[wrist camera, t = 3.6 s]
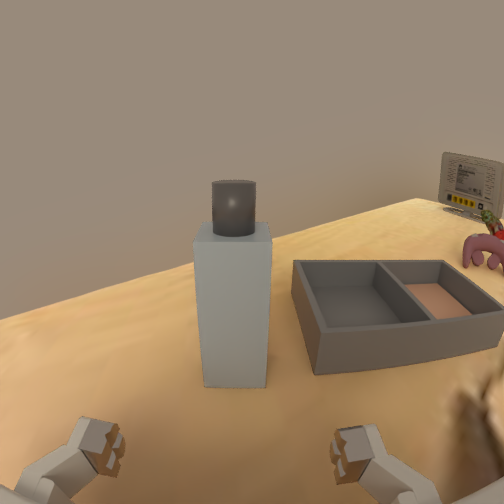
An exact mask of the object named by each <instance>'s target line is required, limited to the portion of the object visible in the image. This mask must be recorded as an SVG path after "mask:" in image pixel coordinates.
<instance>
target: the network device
mask: <svg viewBox="0 0 504 504" xmlns="http://www.w3.org/2000/svg"><path fill="white" fill-rule="evenodd" d="M438 200H439V202H440V203H442V204H446V205H449V206H452V207H455V208H459V209H462V210H464V211H462V210H459V209H455V208H443V210H444V211H446V212H449V213H452V214H455V215H458V216H461V217H464V218H467V219H470V220H473V221H476V222H479V223H483V224H485V222H483V221H480V220H477V219H475V218H472V217H476V218H479V219H481V218H482V217H480V216H481V211H482V210H486V209H488V210H490V211H491V212H492V213H493V215H494V216H496V217H497V218H499V219H500V218H501V217H502V211H503V204H504V163H501V162H497V161H493V160H488V159H483V158H478V157H473V156H467V155H461V154H456V153H450V152H444V153H443V154H442V163H441V174H440V186H439V194H438ZM451 210H455V211H458V212H461V213H457V212H454V211H451ZM473 213H474V214H477V215H480V216H477V215H474V214H473Z"/></svg>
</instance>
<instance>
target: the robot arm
mask: <svg viewBox="0 0 504 504" xmlns="http://www.w3.org/2000/svg"><path fill="white" fill-rule="evenodd" d="M119 430H120V428H119V426H118V424H116V423H111V422H106V421H101V420H97V419H93V418H88V417H84V416H82V417H81V418H79V420H78V422H77V424H76V426H75V428H74V430H73V432H72V434H71V436H70V439H69V441H68V443H67V445H62V446H60V447H59V448H57V449H56V450H54V451H52V452H51V453H49V454H47V455H46V456H44V457H43V458H41V459H39V460H38V461H36V462H34V463H33V464H31V465H29V466H28V467H26V468H24V470H23V472H22V475H21V477H20V479H19V481H18V483H17V485H16V487H15V489H14V491H13V490H11V489H9V488H7V487H6V486H4V485H2V484H0V504H75V503H74V502H73V501H71V500H70V499H71V498H72V497H73V496H74V495H75V494H76V493H78V492H79V491H80V490H81V489H82V488H83V487H85V486H86V485H87V484H88V483H89V482H90V481H91V480H93V479H94V478H95V477H96V476H97V475H98V474H101V475H106V476H110V477H115V478H117V476H118V472H119V469H120V466H121V465H120V463H119V459H121V458H122V457H123V456H124V452H125V440H124V437H123V435H121V434H120V433H119ZM334 437H335V439H334V440H333V441H332V442H331V445H330V458H331V462H332V463H333V464H334V465H335V466H336V467H335V469H334V475H335V479H336V483H337V485H339V484H346V483H353V482H358V483H359V484H360V485H361V486H362V487H363V488H364V489H365V490H366V491H367V492H368V493H369V494H370V495H371V496H372V497H374V498H375V499H376V500H377V501H378V502H379V503H380V504H442V502H441V499H440V497H439V494H438V492H437V490H436V487H435V485H434V483H433V482H432V481H431V480H429V479H428V478H426V477H425V476H423V475H421V474H420V473H418V472H417V471H415V470H414V469H412V468H411V467H409V466H408V465H406V464H405V463H403V462H402V461H400V460H399V459H398V458H396V457H395V456H393V455H392V454H391V455H388V453H387V451H386V448H385V446H384V443H383V441H382V438H381V436H380V433H379V431H378V428H377V426H376V425H375V424H368V425H363V426H361V425H360V426H354V427H348V428H341V429H337V430H336V431H335V433H334ZM451 504H504V477H502V478H500V479H498V480H497V481H495V482H493V483H491V484H490V485H488V486H486V487H484V488H482V489H480V490H478V491H476V492H474V493H472V494H470V495H468V496H466V497H464V498H462V499H460V500H458V501H455V502H453V503H451Z"/></svg>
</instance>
